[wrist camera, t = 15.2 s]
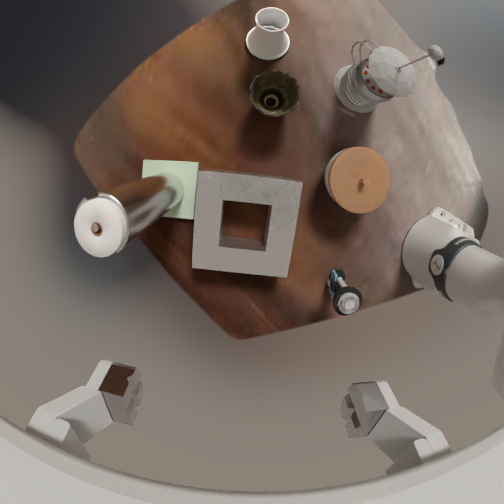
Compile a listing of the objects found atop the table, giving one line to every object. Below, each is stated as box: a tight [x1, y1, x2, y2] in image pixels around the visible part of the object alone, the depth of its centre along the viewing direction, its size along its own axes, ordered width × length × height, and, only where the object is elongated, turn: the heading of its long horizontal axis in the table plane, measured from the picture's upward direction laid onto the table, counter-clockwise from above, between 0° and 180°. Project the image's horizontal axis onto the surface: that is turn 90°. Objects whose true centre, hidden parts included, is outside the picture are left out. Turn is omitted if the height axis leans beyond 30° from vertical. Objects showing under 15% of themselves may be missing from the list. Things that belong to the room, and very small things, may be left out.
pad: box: [142, 160, 199, 219], centre depth 46 cm, size 10×10×1 cm
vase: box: [246, 7, 290, 60], centre depth 33 cm, size 8×8×10 cm
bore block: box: [192, 169, 303, 278], centre depth 46 cm, size 16×16×6 cm
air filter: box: [74, 172, 184, 257], centre depth 34 cm, size 6×6×25 cm
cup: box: [250, 70, 301, 117], centre depth 38 cm, size 8×7×8 cm
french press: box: [334, 40, 443, 113], centre depth 29 cm, size 10×12×25 cm
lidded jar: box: [324, 147, 390, 214], centre depth 42 cm, size 11×11×9 cm
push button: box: [327, 270, 362, 315], centre depth 49 cm, size 7×5×10 cm
